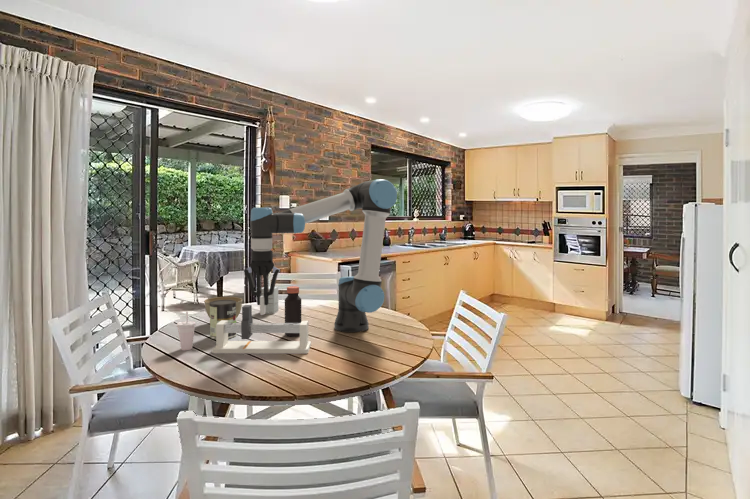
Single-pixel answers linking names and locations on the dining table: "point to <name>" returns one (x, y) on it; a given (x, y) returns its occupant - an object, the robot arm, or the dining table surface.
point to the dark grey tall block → (246, 321)
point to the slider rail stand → (261, 343)
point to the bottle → (292, 308)
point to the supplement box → (272, 301)
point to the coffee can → (222, 315)
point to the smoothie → (186, 333)
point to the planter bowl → (238, 300)
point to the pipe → (264, 328)
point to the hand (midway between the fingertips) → (262, 313)
